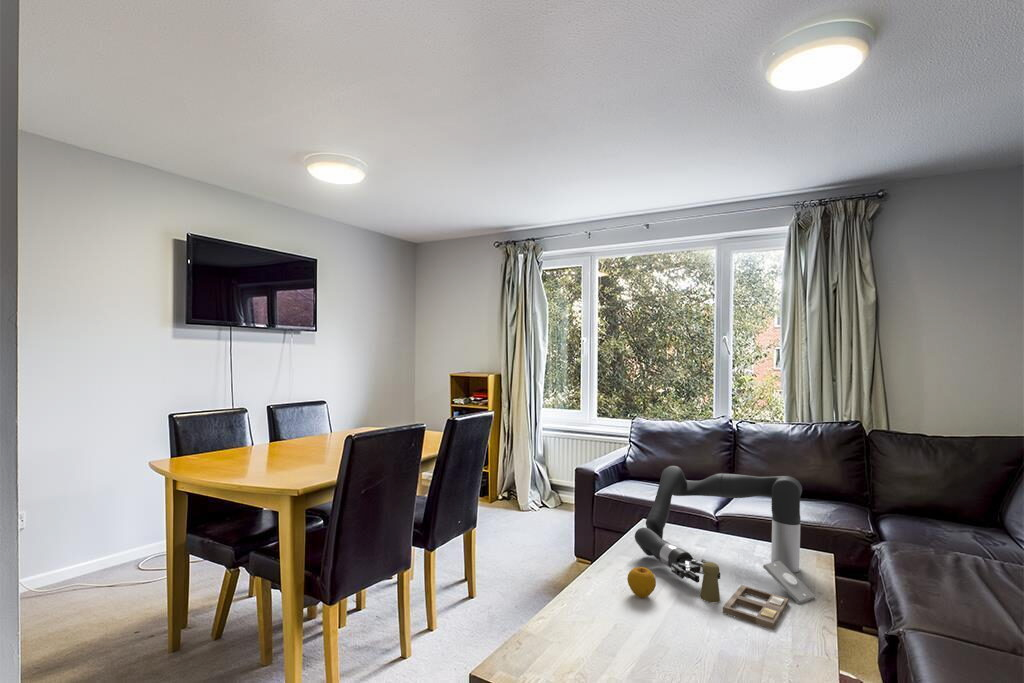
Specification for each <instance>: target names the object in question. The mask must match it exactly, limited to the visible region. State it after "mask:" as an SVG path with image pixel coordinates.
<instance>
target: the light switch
mask: <svg viewBox="0 0 1024 683" xmlns="http://www.w3.org/2000/svg"><path fill="white" fill-rule="evenodd" d="M762 567H763V569H764V570H765V571H766V572H767V573H768V574H769V575H770V576H771V577H772V578H773V579H774V580H775V581H776V582H777V584H779V585H780V587H782V589H783V590H785V592H786V593H787V594H788V595H789V596H790V597H791V598H792V599H793V600H794V601H795V602H796V603H797V604H798V605H799V603H800V604H802V602H803V603H806V602H809V601H811V599H812V600H814V599H815V598H816V595H815V594H814V593H813V592H812V591H811V590H810V589H809V588H808V587H807V585H805V584H804V583H803V582H802V581H801V580H800V579H799V578H798V577H797V576H796V575H795V574H794V573H792V572H791V571H790V570H789V569H788V568H787V567H786V566H785V565H784V564H783V563H782V562H781V561H776V562H772V563H771V562H768V563H765V564H764V565H763V566H762ZM808 600H809V601H808ZM805 601H806V602H805Z"/></svg>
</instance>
